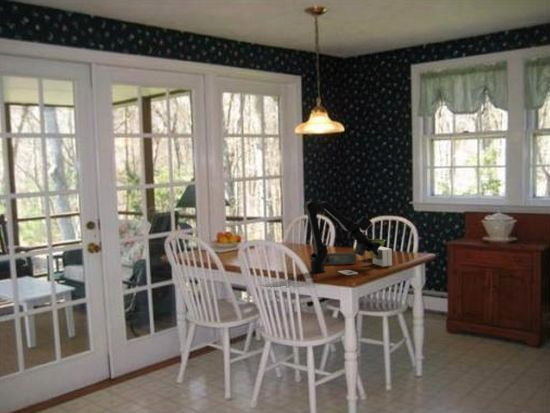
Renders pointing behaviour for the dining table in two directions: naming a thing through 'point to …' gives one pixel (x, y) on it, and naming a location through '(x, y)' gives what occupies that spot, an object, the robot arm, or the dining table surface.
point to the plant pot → (379, 242)
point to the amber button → (370, 255)
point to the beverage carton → (340, 258)
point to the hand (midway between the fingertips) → (377, 254)
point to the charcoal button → (379, 255)
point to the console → (384, 257)
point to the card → (348, 272)
